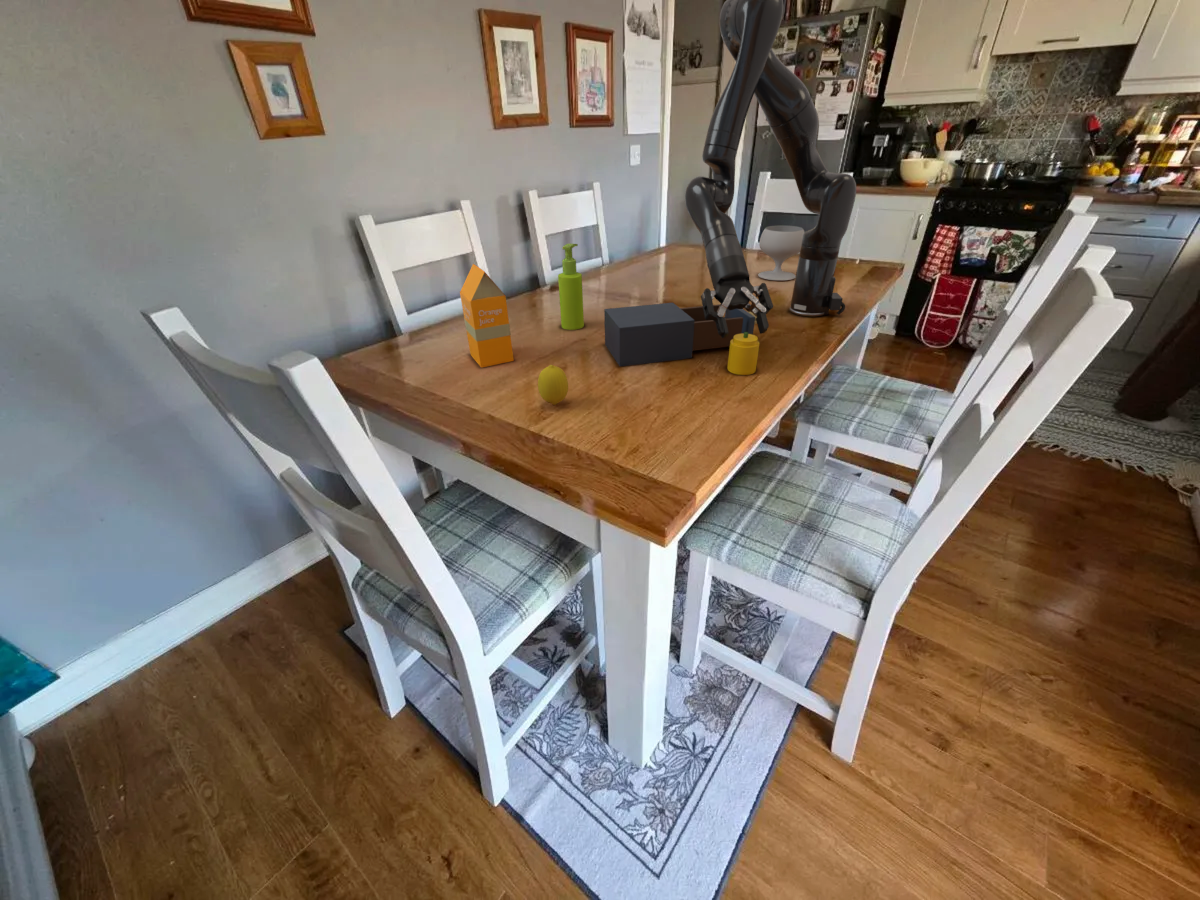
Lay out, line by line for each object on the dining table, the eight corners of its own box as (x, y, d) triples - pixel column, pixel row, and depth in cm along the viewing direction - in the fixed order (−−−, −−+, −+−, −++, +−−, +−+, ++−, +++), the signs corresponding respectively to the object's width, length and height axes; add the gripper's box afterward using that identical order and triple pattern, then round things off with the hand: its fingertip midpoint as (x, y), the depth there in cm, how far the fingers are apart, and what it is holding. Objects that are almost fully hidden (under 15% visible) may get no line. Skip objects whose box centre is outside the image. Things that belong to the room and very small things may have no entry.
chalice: (756, 281, 166) (763, 232, 158) (753, 271, 178) (759, 224, 170) (801, 282, 164) (811, 232, 156) (795, 272, 175) (803, 224, 167)
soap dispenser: (588, 322, 136) (585, 242, 125) (579, 330, 131) (575, 248, 120) (568, 320, 138) (563, 241, 127) (558, 328, 132) (552, 247, 122)
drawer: (744, 327, 127) (747, 299, 123) (768, 344, 117) (773, 315, 113) (668, 335, 124) (669, 307, 120) (686, 353, 113) (688, 323, 110)
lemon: (540, 399, 98) (536, 360, 94) (568, 397, 99) (566, 358, 94) (539, 412, 94) (535, 372, 89) (569, 410, 94) (567, 370, 90)
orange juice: (480, 367, 112) (465, 273, 101) (469, 354, 119) (454, 265, 108) (514, 360, 115) (503, 268, 104) (502, 348, 122) (490, 260, 111)
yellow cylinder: (753, 364, 110) (758, 328, 105) (757, 375, 105) (763, 337, 101) (726, 363, 110) (730, 327, 106) (728, 374, 106) (732, 337, 101)
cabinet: (671, 337, 125) (672, 302, 120) (691, 358, 114) (694, 320, 109) (604, 344, 122) (604, 308, 117) (619, 366, 111) (619, 327, 106)
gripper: (700, 256, 103) (719, 329, 100) (765, 250, 106) (785, 321, 102) (689, 276, 110) (706, 346, 107) (750, 271, 113) (768, 338, 110)
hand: (745, 334), depth 105 cm, fingers open, 8 cm apart
